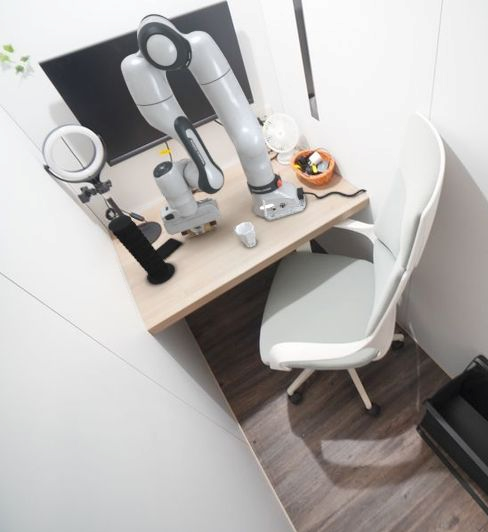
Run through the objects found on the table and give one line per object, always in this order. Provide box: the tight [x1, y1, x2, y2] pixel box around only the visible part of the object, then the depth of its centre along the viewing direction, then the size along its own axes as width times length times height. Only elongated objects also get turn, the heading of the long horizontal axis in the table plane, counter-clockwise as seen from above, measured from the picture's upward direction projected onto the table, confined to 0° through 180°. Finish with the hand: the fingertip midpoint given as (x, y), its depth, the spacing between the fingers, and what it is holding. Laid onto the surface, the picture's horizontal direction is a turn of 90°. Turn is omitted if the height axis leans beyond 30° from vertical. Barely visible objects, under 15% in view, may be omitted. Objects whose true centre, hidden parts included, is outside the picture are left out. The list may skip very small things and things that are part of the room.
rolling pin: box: [180, 220, 218, 238], centre depth 128 cm, size 5×14×5 cm, turn 113°
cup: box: [232, 221, 257, 248], centre depth 121 cm, size 7×10×8 cm
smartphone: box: [155, 237, 182, 260], centre depth 124 cm, size 7×1×15 cm
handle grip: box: [107, 214, 176, 285], centre depth 108 cm, size 10×26×10 cm
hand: (200, 233), depth 127 cm, fingers closed
